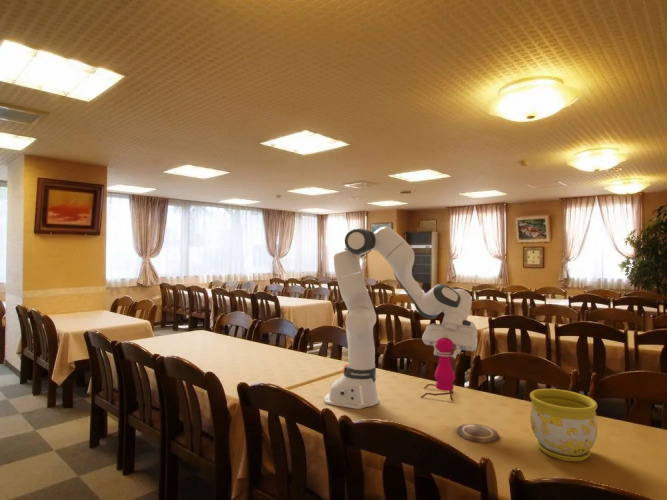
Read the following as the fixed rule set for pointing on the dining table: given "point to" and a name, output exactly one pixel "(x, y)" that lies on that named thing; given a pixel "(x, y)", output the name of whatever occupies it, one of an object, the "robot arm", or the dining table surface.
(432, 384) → the glasses
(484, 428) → the coaster
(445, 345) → the pepper mill
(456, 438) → the dining table surface
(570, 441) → the flowerpot
